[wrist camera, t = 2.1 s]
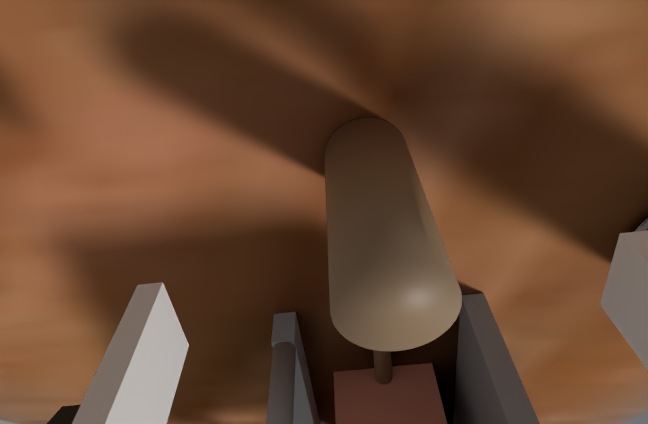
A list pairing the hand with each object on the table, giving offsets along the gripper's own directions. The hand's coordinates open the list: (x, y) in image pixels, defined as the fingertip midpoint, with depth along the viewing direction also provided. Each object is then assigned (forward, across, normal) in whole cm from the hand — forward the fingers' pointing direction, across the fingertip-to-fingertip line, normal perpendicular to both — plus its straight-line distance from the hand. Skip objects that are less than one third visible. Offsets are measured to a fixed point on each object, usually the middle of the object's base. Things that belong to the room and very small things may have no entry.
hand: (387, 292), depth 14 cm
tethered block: (+8, 0, -9) cm, 12 cm away
